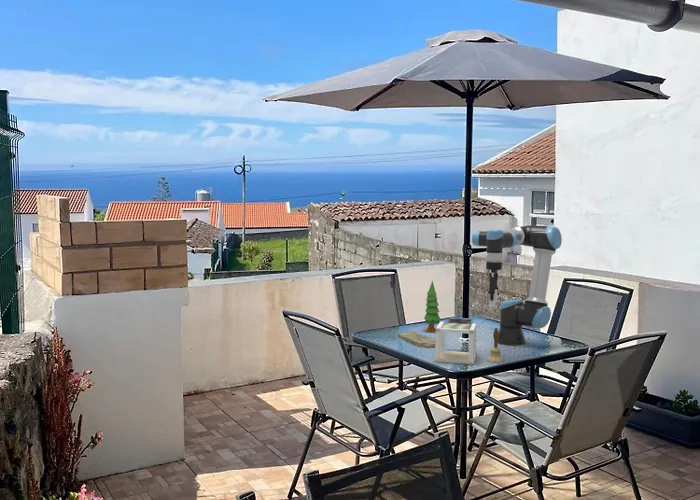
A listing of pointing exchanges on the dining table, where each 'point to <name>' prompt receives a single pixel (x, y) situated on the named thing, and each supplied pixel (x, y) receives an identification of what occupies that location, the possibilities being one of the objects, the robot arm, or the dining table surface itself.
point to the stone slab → (418, 339)
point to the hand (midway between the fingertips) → (492, 305)
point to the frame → (453, 355)
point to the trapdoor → (458, 323)
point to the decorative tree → (432, 309)
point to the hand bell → (495, 349)
